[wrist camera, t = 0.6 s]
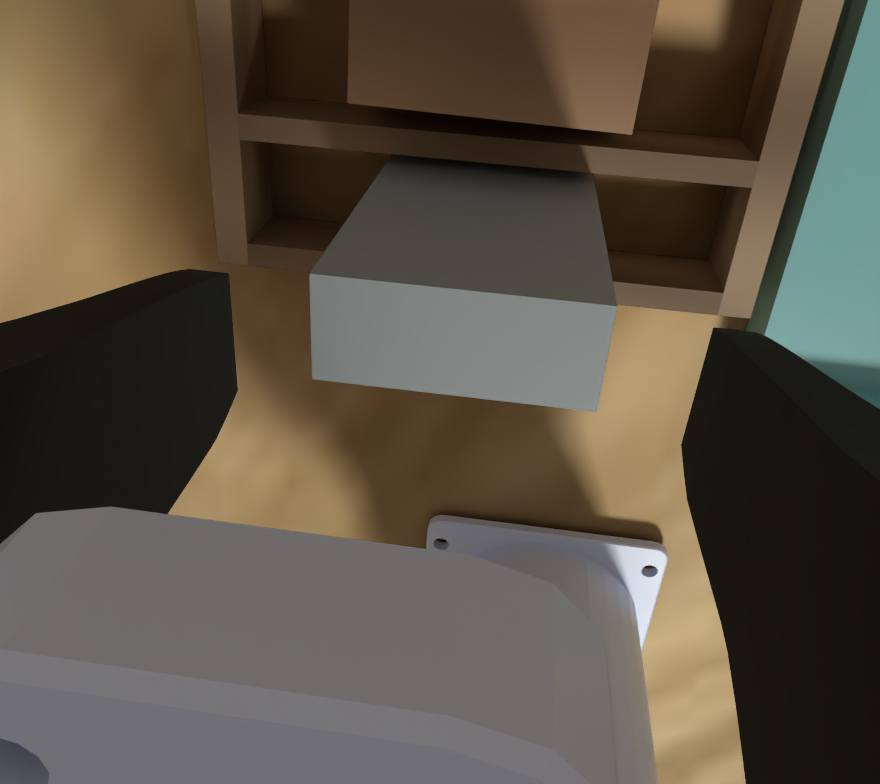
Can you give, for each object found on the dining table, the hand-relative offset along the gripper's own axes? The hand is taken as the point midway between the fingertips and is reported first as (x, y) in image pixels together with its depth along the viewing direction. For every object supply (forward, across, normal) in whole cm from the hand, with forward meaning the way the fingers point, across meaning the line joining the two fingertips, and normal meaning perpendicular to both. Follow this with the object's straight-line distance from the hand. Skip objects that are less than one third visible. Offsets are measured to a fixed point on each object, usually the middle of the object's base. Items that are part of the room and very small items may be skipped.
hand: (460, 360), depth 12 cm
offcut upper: (+9, 0, -4) cm, 9 cm away
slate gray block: (+10, 0, 0) cm, 10 cm away
